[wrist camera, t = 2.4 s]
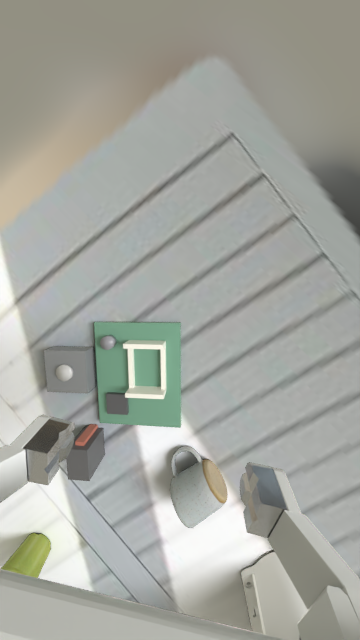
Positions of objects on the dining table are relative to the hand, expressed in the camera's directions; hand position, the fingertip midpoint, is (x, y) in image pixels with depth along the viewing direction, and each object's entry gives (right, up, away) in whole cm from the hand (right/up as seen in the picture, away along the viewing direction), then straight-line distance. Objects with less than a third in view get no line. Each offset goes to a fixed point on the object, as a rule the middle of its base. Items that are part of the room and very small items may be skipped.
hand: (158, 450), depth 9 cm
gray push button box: (-20, -3, +31) cm, 37 cm away
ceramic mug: (+4, -24, +31) cm, 39 cm away
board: (-7, -4, +30) cm, 31 cm away
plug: (-17, -19, +32) cm, 41 cm away
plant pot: (-31, -46, +38) cm, 67 cm away
